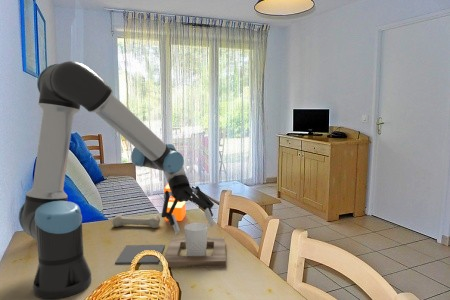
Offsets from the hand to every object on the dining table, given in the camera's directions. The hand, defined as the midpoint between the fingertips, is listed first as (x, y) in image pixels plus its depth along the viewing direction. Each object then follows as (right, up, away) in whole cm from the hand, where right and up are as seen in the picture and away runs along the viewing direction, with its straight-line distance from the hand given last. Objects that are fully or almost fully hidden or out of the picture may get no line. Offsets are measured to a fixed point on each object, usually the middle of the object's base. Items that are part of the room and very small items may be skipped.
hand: (195, 229), depth 123 cm
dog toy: (-27, -5, +26) cm, 38 cm away
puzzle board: (0, -8, -2) cm, 8 cm away
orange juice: (-12, -3, +37) cm, 40 cm away
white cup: (0, -8, -2) cm, 9 cm away
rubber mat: (-19, -8, -2) cm, 20 cm away
